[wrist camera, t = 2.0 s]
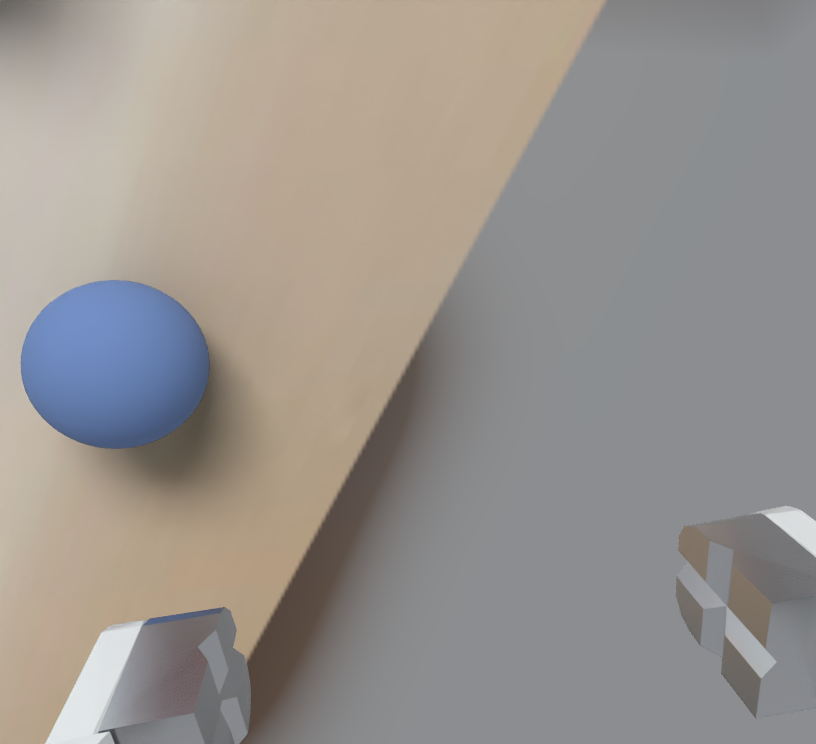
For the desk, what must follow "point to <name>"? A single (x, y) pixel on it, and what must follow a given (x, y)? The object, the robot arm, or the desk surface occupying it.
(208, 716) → the robot arm
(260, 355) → the desk surface
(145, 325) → the ball
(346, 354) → the desk surface
